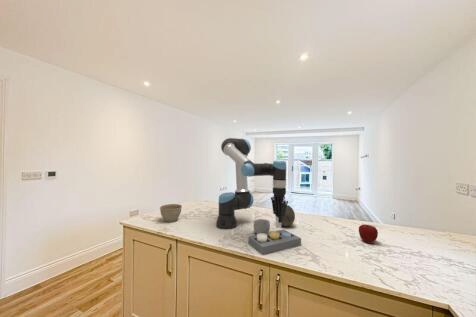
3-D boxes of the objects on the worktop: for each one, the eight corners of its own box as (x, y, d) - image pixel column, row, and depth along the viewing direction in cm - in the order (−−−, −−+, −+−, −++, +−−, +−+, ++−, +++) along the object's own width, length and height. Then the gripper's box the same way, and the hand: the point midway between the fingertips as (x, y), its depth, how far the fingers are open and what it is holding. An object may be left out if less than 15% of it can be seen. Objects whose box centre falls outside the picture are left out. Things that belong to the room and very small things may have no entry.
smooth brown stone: (297, 224, 145) (297, 204, 145) (291, 230, 133) (291, 208, 133) (279, 221, 153) (279, 202, 153) (272, 226, 141) (272, 205, 141)
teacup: (269, 237, 121) (269, 224, 121) (252, 235, 123) (252, 223, 123) (270, 229, 135) (270, 218, 135) (254, 228, 137) (254, 216, 137)
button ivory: (255, 241, 109) (255, 234, 109) (263, 239, 112) (263, 232, 112) (260, 245, 104) (260, 237, 104) (269, 243, 107) (269, 236, 107)
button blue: (279, 239, 117) (279, 232, 117) (286, 237, 119) (286, 231, 119) (285, 243, 112) (285, 236, 112) (292, 241, 114) (293, 234, 114)
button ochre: (267, 238, 113) (267, 231, 113) (275, 237, 115) (275, 230, 115) (273, 242, 108) (273, 235, 108) (281, 240, 110) (281, 233, 110)
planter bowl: (155, 223, 146) (155, 208, 146) (166, 216, 162) (166, 203, 162) (175, 224, 143) (175, 209, 143) (185, 217, 159) (185, 204, 159)
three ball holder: (248, 243, 113) (248, 236, 113) (283, 235, 124) (283, 229, 124) (262, 254, 99) (262, 247, 99) (301, 245, 111) (301, 238, 111)
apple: (360, 237, 123) (361, 221, 123) (379, 241, 116) (379, 225, 116) (356, 241, 116) (356, 224, 116) (375, 246, 110) (376, 229, 110)
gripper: (267, 185, 117) (266, 224, 117) (281, 189, 106) (281, 232, 106) (277, 185, 121) (276, 223, 121) (292, 188, 109) (291, 230, 110)
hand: (278, 227), depth 113 cm, fingers closed
